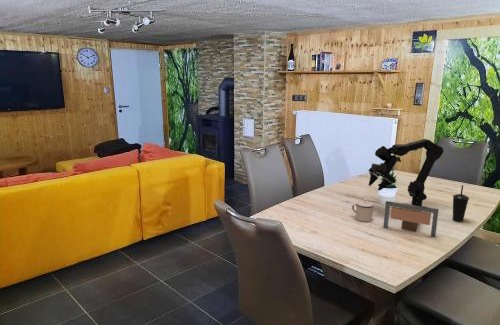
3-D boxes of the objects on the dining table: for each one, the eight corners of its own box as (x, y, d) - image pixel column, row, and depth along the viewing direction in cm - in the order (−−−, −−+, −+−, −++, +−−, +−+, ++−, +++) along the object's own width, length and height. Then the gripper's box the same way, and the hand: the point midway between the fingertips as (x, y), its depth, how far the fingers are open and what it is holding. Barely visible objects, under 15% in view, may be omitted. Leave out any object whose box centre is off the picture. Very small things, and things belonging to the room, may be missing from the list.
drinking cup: (460, 224, 186) (465, 188, 182) (446, 219, 193) (451, 184, 188) (469, 221, 190) (474, 186, 185) (455, 216, 196) (459, 182, 192)
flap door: (390, 217, 181) (391, 206, 180) (429, 224, 172) (431, 213, 171) (390, 218, 180) (391, 207, 179) (429, 225, 171) (430, 213, 170)
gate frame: (384, 226, 184) (386, 201, 181) (435, 235, 172) (438, 209, 169) (383, 227, 182) (385, 202, 179) (435, 237, 170) (438, 210, 167)
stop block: (405, 220, 193) (406, 206, 191) (419, 222, 189) (420, 208, 187) (401, 229, 181) (402, 214, 179) (416, 232, 177) (417, 217, 176)
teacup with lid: (375, 219, 194) (376, 199, 191) (367, 223, 188) (368, 203, 185) (355, 213, 202) (357, 194, 200) (347, 217, 196) (348, 197, 194)
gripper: (369, 154, 206) (355, 177, 207) (389, 161, 188) (373, 186, 189) (382, 163, 209) (368, 185, 210) (403, 171, 192) (387, 195, 193)
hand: (373, 187), depth 200 cm, fingers open, 9 cm apart
